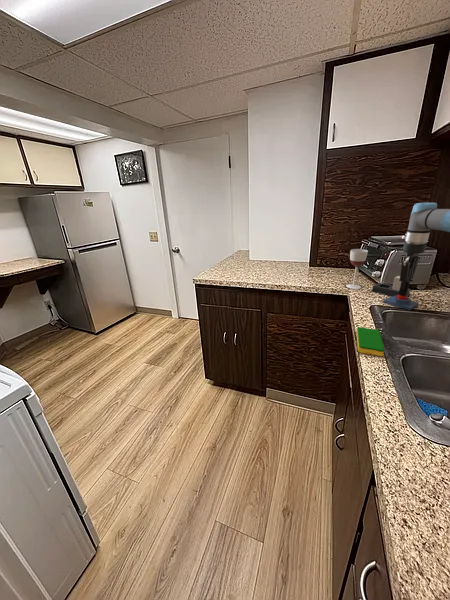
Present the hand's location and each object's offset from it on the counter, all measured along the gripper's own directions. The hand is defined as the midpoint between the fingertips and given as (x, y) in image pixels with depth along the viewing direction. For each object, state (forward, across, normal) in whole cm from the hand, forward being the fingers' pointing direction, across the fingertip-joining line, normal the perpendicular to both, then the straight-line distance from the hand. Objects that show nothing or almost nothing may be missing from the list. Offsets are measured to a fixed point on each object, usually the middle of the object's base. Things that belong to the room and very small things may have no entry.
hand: (402, 295), depth 112 cm
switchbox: (+4, 0, 0) cm, 4 cm away
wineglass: (+5, -7, -26) cm, 27 cm away
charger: (+5, -11, -6) cm, 13 cm away
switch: (+2, 0, 0) cm, 2 cm away
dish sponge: (+5, +43, +7) cm, 44 cm away
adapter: (+5, -11, -9) cm, 15 cm away
